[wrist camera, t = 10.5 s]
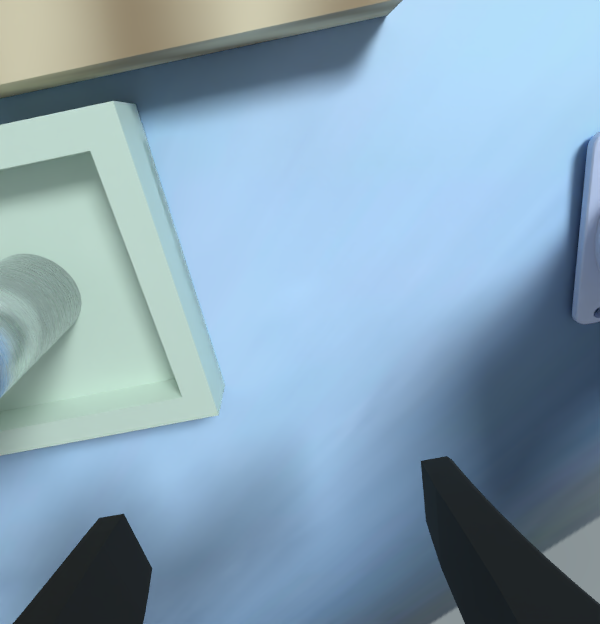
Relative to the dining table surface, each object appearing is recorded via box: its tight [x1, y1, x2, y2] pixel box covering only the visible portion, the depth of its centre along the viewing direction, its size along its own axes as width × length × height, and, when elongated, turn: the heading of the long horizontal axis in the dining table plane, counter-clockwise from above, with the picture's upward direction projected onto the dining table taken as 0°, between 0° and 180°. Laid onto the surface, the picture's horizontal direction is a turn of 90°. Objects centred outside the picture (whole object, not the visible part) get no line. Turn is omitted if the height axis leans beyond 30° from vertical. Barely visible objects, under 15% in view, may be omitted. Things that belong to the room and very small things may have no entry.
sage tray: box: [0, 101, 225, 456], centre depth 16 cm, size 12×12×2 cm
